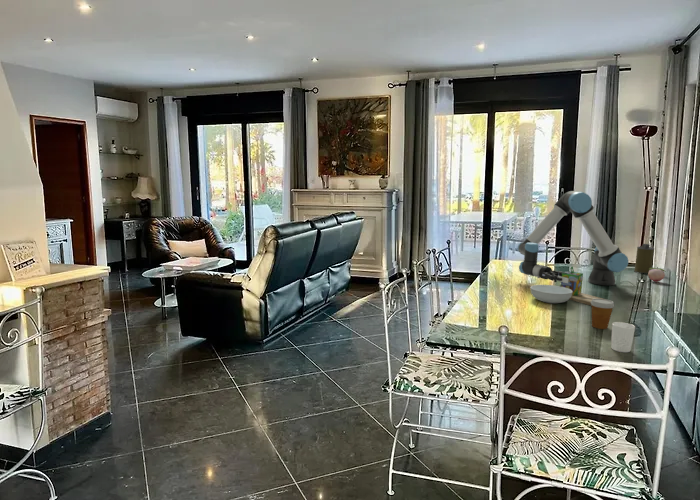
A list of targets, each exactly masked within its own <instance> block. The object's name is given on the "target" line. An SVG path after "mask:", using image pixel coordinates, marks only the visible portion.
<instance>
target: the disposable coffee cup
mask: <svg viewBox="0 0 700 500" xmlns="http://www.w3.org/2000/svg"><path fill="white" fill-rule="evenodd" d="M606 299H607V298H603V299H592V301H591V305H590V306H591V308H590V309H591V326H592V327H593V328H595V329H599V330H607V329H608V328H609V325H610V324H609V323H610V319H611V317H612V316H611V315H612V313H613V310H614V309H613V308H614V307H615V304H614V301H613V300H610V299H607V300H606Z"/></svg>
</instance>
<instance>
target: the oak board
mask: <svg viewBox="0 0 700 500" xmlns="http://www.w3.org/2000/svg"><path fill="white" fill-rule="evenodd" d="M592 299H604V298H602V297H599V296H594V295H591V294H587V293H584V292H581V294H579V295H578V296H576V295H572V296H571V298H570V299H569V301H573V302H577V303H580V304H584V305H587V306H591V301H592ZM605 299H606V300H608V299H607V298H605Z"/></svg>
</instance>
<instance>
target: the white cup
mask: <svg viewBox="0 0 700 500" xmlns="http://www.w3.org/2000/svg"><path fill="white" fill-rule="evenodd" d="M635 329H636V326H635V325H634V324H632V323H627V322H624V321H623V322H622V321H613V322H612V323H611V338H610V339H611V341H610V342H611V343H610V345H611V346H610V348H611V349H612V350H613V351H616V352H620V353H630V352H631V349H632V346H633V342H634V336H635Z"/></svg>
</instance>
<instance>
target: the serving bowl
mask: <svg viewBox="0 0 700 500" xmlns="http://www.w3.org/2000/svg"><path fill="white" fill-rule="evenodd" d="M529 289H530V293H531V295H532V296H533V298H534V299H536V300H538V301H541V302H543V303H547V304H561V303H565V302H568V301H570V298H571V296H572V293H573V291H572V290H571V289H568V288H565V287H561V285H554V284H552V285H551V284H534V285H531V286H530V287H529Z"/></svg>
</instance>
